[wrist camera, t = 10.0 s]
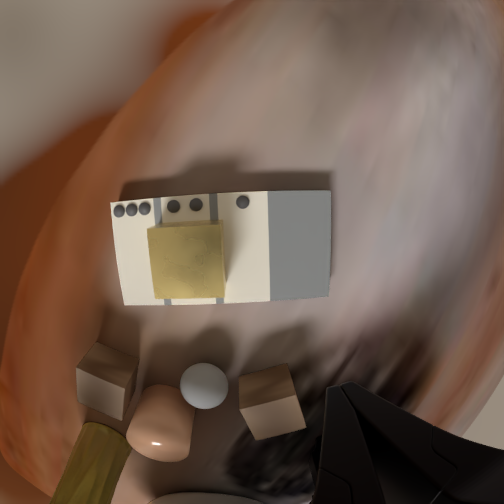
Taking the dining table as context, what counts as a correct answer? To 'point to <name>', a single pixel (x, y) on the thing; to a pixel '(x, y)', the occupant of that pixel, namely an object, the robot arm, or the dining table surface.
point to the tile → (187, 259)
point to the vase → (93, 466)
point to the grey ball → (204, 385)
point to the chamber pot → (202, 499)
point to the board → (235, 243)
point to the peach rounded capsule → (162, 424)
